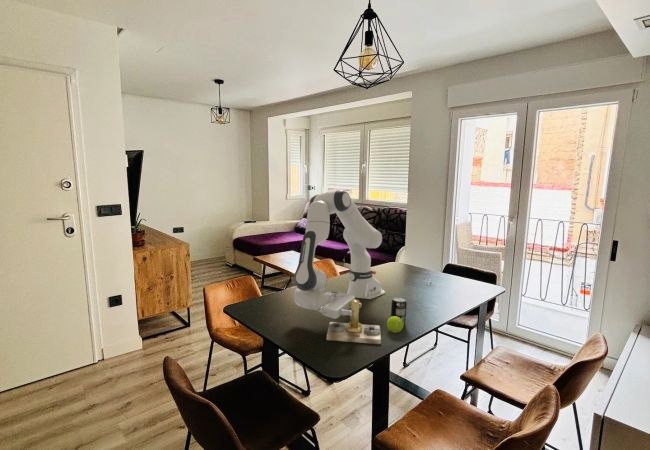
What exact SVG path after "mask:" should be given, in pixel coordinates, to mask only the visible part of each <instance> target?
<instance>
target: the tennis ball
mask: <svg viewBox="0 0 650 450" xmlns="http://www.w3.org/2000/svg"><path fill="white" fill-rule="evenodd" d="M386 327H387V329H388V331H389V332H391V333H394V334H398V333H400V332H401V331H402V330H403V328H404V326H403V321H402V320H401V319H400V318H399V317H397V316H392V317H391V316H390V317H389V318H388V319H387V322H386Z"/></svg>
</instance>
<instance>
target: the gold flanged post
mask: <svg viewBox="0 0 650 450" xmlns="http://www.w3.org/2000/svg"><path fill="white" fill-rule="evenodd" d="M359 303H360V299H357V298H355V299H353V300H351V307H350V310H352V311H353V315H351V316H350V321H349V322H350V323H349V322H348V323H349V324H347V325H346V331H347V332H348V333H361V332H362V325H360V324H361V323H360V324H358V323H359V316H360V315H359V314H360V308H359Z"/></svg>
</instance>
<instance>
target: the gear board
mask: <svg viewBox="0 0 650 450" xmlns="http://www.w3.org/2000/svg"><path fill="white" fill-rule="evenodd" d="M349 323H350V321H348V322H336V321H330V322H329V324H328V328H327V332H326V340H327V341H336V342H337V341H338V342H350V343H351V342H352V343H360V344H361V343H363V344H375V345H381V344H382V337H381V327H380V326H381V325H378V324H377V325H376V324H365V323H364V324H362V323H361V322H358V324H360V325H362V332H361V333H348V332H347V331H346V325H347V324H349Z"/></svg>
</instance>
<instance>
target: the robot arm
mask: <svg viewBox="0 0 650 450" xmlns="http://www.w3.org/2000/svg"><path fill="white" fill-rule="evenodd" d="M308 205H309V207H308V210H307V215H306V221H305V222H306V223H305V224H306V225H305V231H304V232H305V233H304V235H303V237H302V241H301V248H300V254H299V259H298V265H297V267H296V270H295V272H294V275H293V281H294V285H295V287H296V289H295V290H294V293H293V301H294V302H295V305H297V306H299V307H301V308H304V309H308V310H311V311H312V310H314V311H317V312H318V313H320V314H322V316H325V317H327V318H331V319H335V320H336V319H338V318H340V317H341V316H350V317H351V315H353V311H352V310H351V300H353V299H365V300H366V299H367V300H371V299H374V298H377V297H379V296H381V295H385V294H386V291H385V290H384V289H382V284H381V282H380V281H379V280H378V279H376V277H374V275H376V274H377V271H376V270H373V269H372V270H371V265H372V264H371V263H372V257H371V255H370V254H369V252H368V251H367V249H377V248H379V247H380V246H381V244H382V242H383V236H382V233H381V231H380V230H378V229H376V228H375V227H373V225H371V224H370V223H369V222H368V221H367V220H366V219H365V218H364V216H363V215H362V213H361V212H360V210H359V209H358V207H357V206H356V204H355V202H354V201H353V199H352V198H351V195H350V194H349V193H348V192H347V191H346V190H343V189H337V190H331V191H330V190H329V191H326V192H323V193H319V194H316V195H315V194H314V195H313V196H311V198H310V200H309V204H308ZM333 214H336V216H337V217H338V219H339V221H340V223H342V225H343V226H344V229H343V233H342V236H343V239H344V241H345V242H346V243H347V246H348V249H349V252H350V269H349V284H348V289H347V291H346V292H347V293H345V292H340V291H338V290H334V291H325V290H326V287H327V284H328V276H327V273H326V272H325V271H324V270H320V269H318V268H314V261H315V260H314V259H315V254H316V248H317V246H318V245H319V244H321V243H323V242H325V241H326V240H327V239H328V238H329V235H330V227H331V223H330V222H331V220H330V218H331V216H330V215H333ZM362 305H363V304H362V302H359V309H361V308H362Z"/></svg>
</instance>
